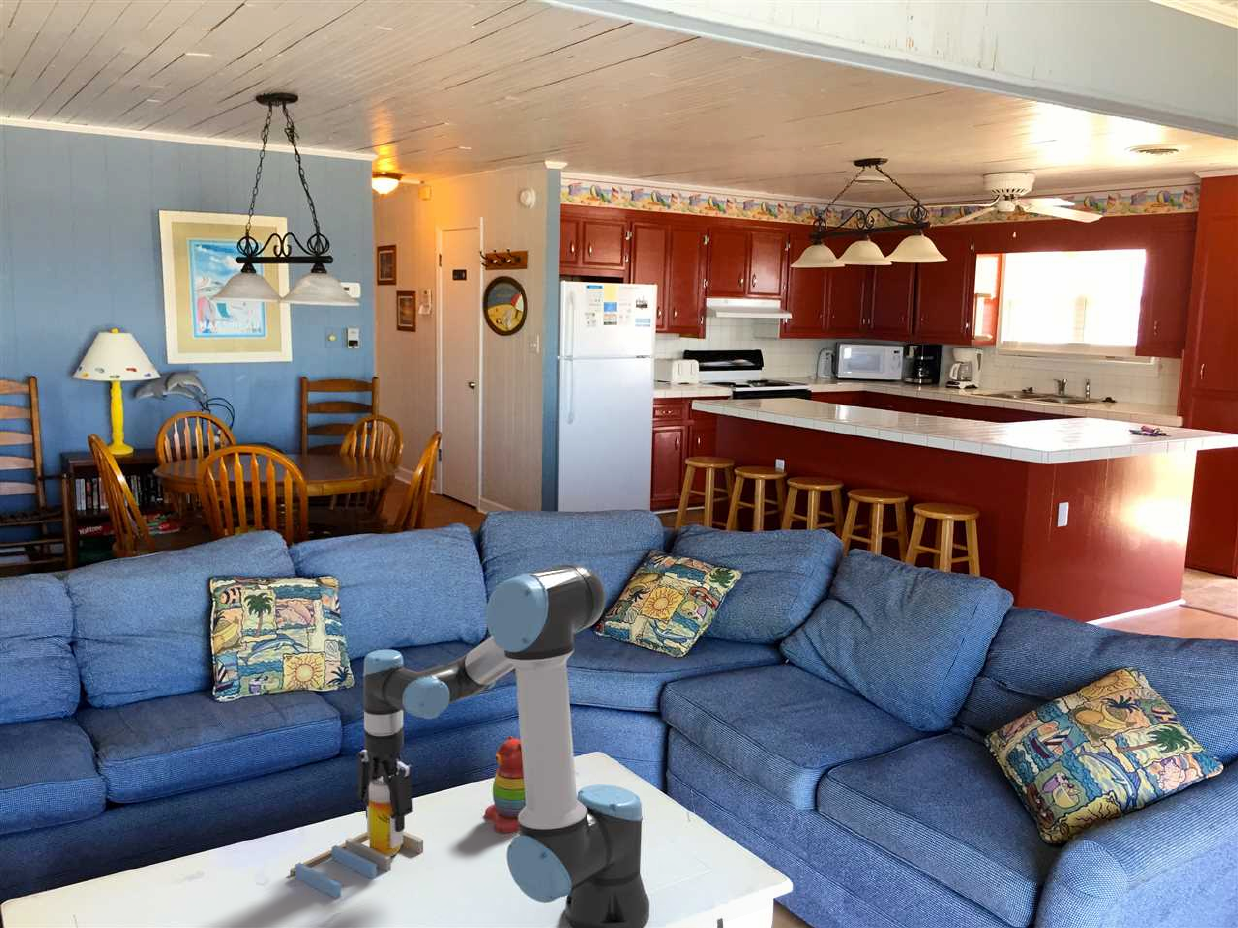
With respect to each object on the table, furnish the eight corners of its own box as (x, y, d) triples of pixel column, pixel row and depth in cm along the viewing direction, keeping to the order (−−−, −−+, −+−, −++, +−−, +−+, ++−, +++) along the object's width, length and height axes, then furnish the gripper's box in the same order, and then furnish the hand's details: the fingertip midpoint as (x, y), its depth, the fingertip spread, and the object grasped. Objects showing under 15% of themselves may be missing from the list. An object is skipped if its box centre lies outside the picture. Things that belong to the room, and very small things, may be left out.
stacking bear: (482, 812, 219) (483, 734, 217) (526, 804, 224) (527, 727, 221) (498, 835, 210) (498, 753, 207) (543, 826, 214) (545, 746, 212)
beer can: (393, 860, 198) (392, 787, 196) (364, 856, 200) (363, 784, 198) (405, 845, 204) (405, 774, 202) (377, 841, 205) (376, 771, 204)
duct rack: (423, 851, 202) (423, 839, 202) (336, 898, 185) (336, 885, 185) (377, 830, 210) (377, 819, 210) (290, 874, 193) (290, 862, 192)
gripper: (432, 734, 196) (432, 847, 199) (366, 712, 207) (368, 818, 210) (402, 747, 190) (403, 862, 193) (337, 723, 201) (338, 832, 204)
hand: (385, 839), depth 202 cm, fingers closed on beer can, 6 cm apart
